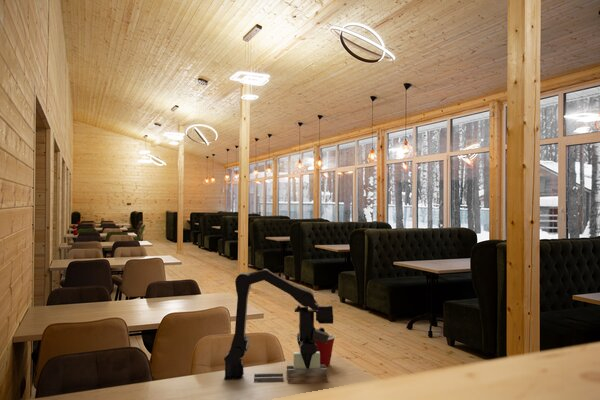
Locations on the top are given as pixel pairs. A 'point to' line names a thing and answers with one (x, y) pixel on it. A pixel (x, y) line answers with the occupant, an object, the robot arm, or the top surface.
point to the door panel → (300, 363)
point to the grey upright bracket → (268, 377)
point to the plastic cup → (325, 350)
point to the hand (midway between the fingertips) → (306, 364)
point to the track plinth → (306, 374)
